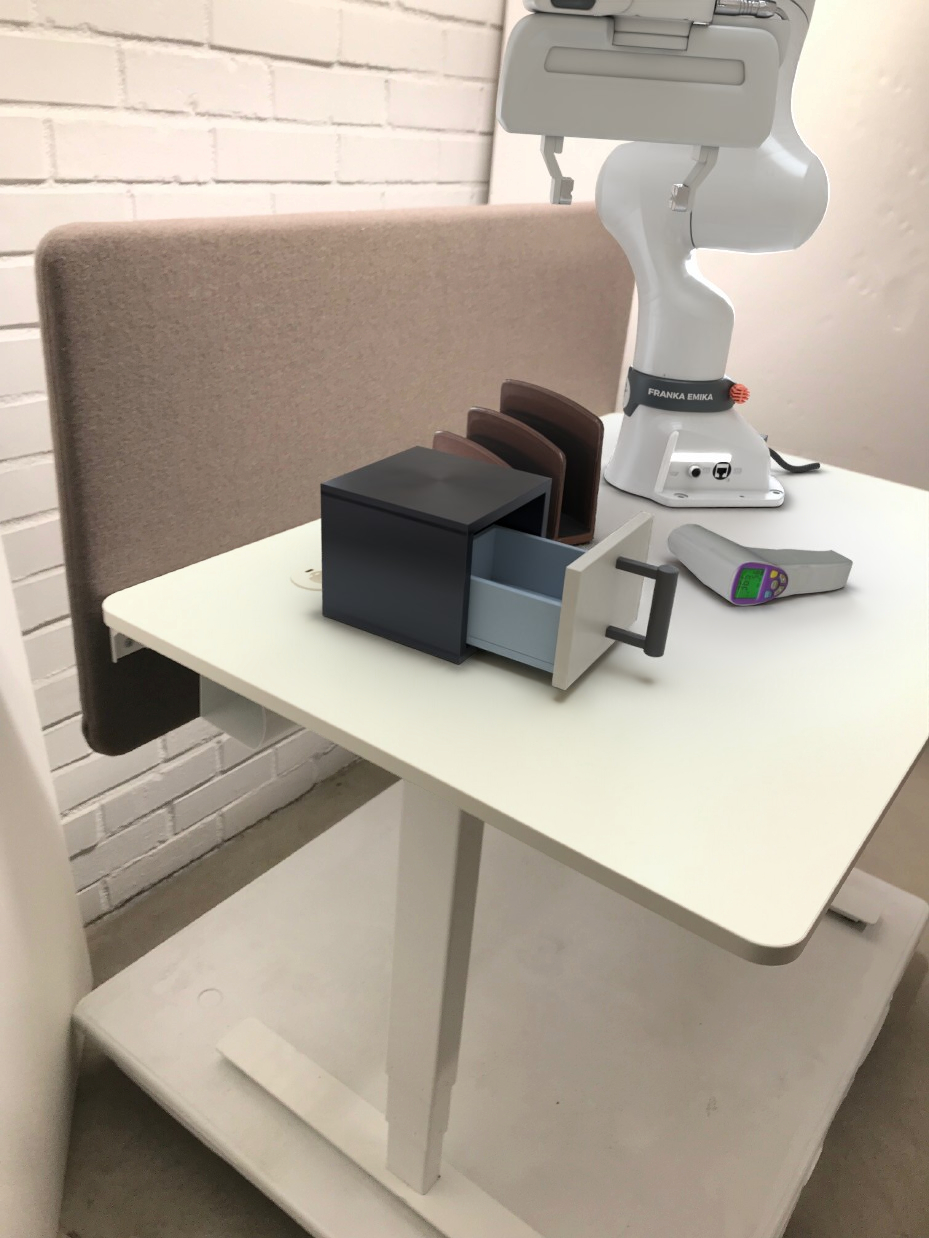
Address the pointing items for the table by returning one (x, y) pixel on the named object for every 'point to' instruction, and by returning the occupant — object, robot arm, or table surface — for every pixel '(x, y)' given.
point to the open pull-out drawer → (565, 597)
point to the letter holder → (540, 451)
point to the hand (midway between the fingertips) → (620, 207)
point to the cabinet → (418, 542)
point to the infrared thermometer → (755, 567)
